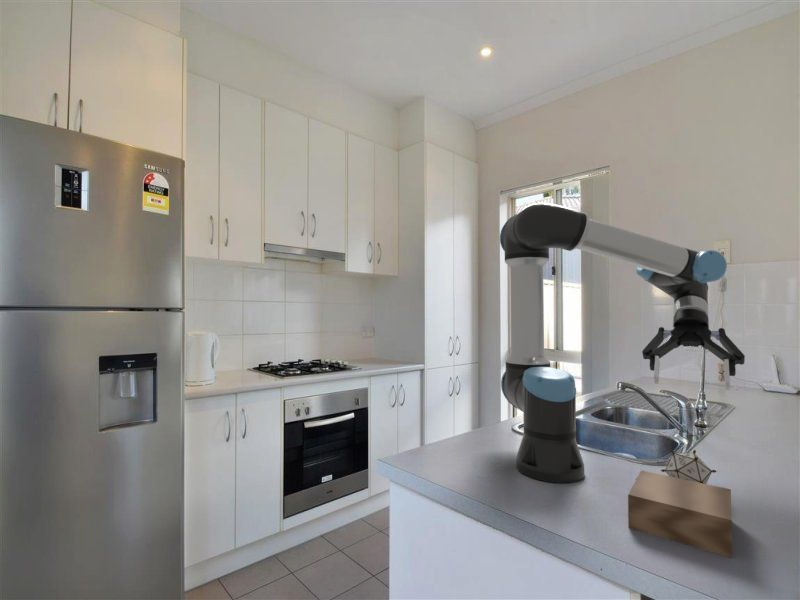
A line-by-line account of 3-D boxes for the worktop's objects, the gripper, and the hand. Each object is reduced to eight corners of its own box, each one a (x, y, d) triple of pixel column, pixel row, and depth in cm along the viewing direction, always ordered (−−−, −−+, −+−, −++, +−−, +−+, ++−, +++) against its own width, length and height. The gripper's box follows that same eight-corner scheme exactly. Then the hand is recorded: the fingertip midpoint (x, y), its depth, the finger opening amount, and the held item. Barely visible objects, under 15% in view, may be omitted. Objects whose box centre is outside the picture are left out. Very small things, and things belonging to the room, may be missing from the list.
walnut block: (628, 529, 71) (628, 494, 71) (641, 500, 82) (641, 470, 82) (732, 560, 62) (731, 520, 62) (731, 523, 73) (730, 489, 73)
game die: (698, 512, 84) (719, 485, 78) (652, 488, 88) (669, 461, 83) (704, 479, 90) (724, 452, 84) (661, 458, 94) (677, 431, 88)
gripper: (752, 327, 102) (760, 398, 90) (637, 326, 117) (631, 386, 105) (753, 306, 98) (762, 377, 86) (634, 307, 113) (627, 368, 101)
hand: (690, 382), depth 95 cm, fingers open, 13 cm apart
